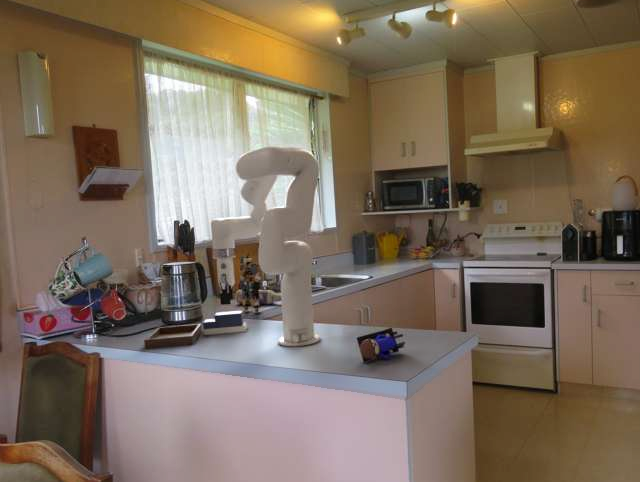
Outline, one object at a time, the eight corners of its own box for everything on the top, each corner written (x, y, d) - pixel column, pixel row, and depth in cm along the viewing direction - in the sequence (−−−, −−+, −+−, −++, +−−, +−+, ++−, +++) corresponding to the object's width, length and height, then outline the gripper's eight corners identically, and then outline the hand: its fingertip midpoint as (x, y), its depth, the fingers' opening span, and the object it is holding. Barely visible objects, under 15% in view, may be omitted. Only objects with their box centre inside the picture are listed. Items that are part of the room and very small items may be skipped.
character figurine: (410, 355, 147) (369, 368, 137) (391, 349, 152) (350, 361, 142) (410, 327, 146) (368, 339, 136) (391, 322, 151) (350, 333, 141)
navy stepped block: (245, 331, 188) (244, 313, 188) (203, 335, 186) (202, 316, 185) (246, 328, 194) (245, 310, 194) (206, 331, 192) (204, 313, 191)
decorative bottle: (234, 305, 246) (233, 290, 246) (244, 302, 253) (243, 288, 253) (282, 306, 236) (281, 291, 236) (291, 303, 243) (290, 288, 243)
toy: (271, 313, 221) (267, 252, 219) (253, 317, 215) (249, 254, 213) (251, 310, 231) (246, 252, 229) (233, 313, 224) (229, 254, 223)
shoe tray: (192, 344, 173) (192, 335, 173) (144, 348, 170) (144, 340, 170) (201, 331, 192) (201, 323, 192) (158, 335, 190) (158, 327, 190)
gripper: (232, 255, 180) (236, 305, 182) (237, 251, 197) (239, 297, 199) (209, 256, 179) (213, 307, 181) (215, 252, 196) (218, 298, 198)
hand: (227, 301), depth 190 cm, fingers open, 9 cm apart
